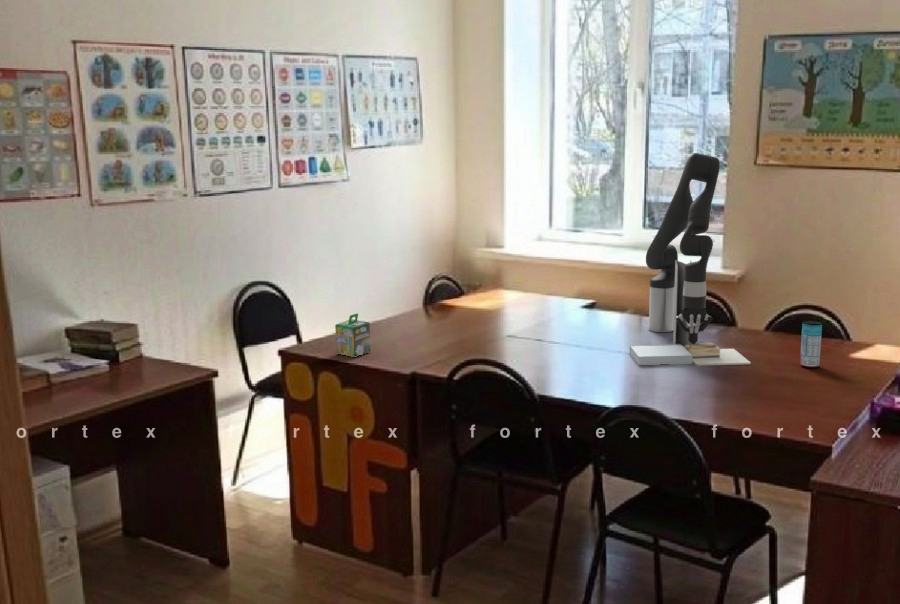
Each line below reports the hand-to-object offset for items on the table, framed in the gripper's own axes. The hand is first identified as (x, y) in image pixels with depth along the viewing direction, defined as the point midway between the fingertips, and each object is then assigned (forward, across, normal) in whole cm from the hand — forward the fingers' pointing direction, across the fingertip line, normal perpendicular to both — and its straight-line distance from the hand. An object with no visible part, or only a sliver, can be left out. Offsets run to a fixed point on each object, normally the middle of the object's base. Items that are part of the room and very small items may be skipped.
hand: (692, 343), depth 302 cm
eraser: (+5, -4, -1) cm, 6 cm away
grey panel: (+6, -1, -18) cm, 19 cm away
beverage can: (+5, -35, +13) cm, 38 cm away
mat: (+5, -8, 0) cm, 10 cm away
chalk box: (+6, +118, -16) cm, 119 cm away
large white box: (+5, +11, 0) cm, 12 cm away
